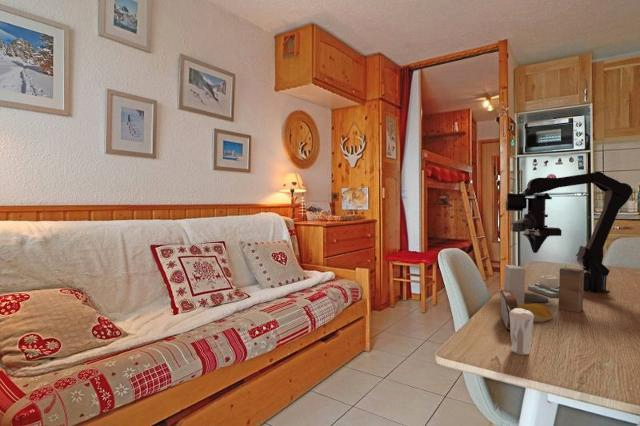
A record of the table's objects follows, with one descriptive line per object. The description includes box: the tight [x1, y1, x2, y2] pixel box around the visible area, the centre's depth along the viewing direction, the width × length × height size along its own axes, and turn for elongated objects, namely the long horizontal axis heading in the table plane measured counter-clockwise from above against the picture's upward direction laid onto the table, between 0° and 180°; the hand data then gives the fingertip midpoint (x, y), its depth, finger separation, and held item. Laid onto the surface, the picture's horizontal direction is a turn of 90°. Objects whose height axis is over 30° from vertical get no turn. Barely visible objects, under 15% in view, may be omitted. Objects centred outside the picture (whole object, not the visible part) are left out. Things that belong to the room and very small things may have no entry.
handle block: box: [558, 266, 585, 313], centre depth 109 cm, size 5×5×12 cm
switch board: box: [527, 282, 559, 298], centre depth 129 cm, size 12×11×2 cm
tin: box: [499, 289, 518, 331], centre depth 95 cm, size 15×3×8 cm, turn 160°
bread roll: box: [518, 302, 553, 323], centre depth 102 cm, size 8×9×4 cm
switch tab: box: [539, 275, 559, 288], centre depth 131 cm, size 4×4×4 cm
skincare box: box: [503, 264, 526, 306], centre depth 112 cm, size 6×4×12 cm
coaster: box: [524, 293, 549, 304], centre depth 120 cm, size 9×9×1 cm
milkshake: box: [508, 306, 534, 356], centre depth 78 cm, size 4×5×10 cm
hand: (535, 252), depth 138 cm, fingers closed
